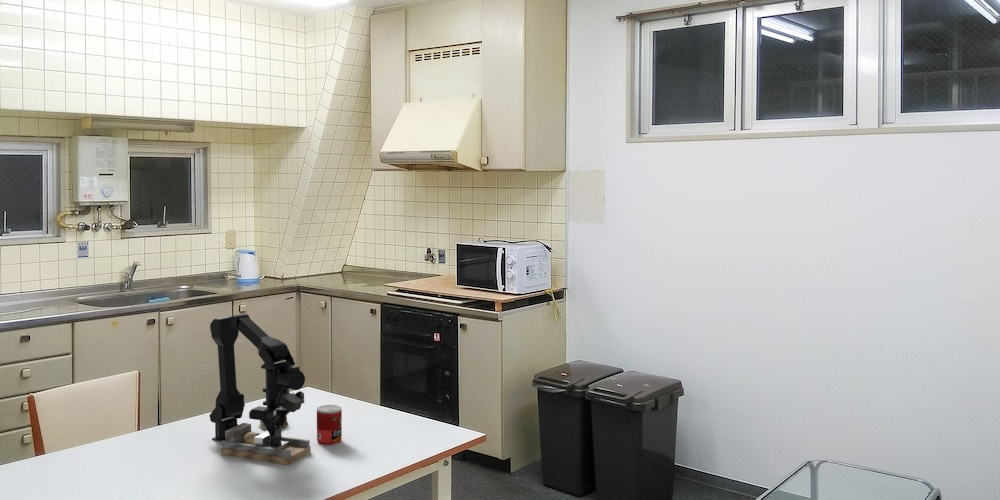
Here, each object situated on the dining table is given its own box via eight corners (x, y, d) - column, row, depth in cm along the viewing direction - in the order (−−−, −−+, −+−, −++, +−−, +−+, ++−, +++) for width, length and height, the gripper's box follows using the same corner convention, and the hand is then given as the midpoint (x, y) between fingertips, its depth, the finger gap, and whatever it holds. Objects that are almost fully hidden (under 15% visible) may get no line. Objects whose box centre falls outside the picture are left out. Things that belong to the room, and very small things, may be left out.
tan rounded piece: (241, 446, 245) (241, 433, 245) (249, 442, 249) (249, 429, 249) (252, 447, 244) (252, 435, 243) (260, 443, 248) (260, 431, 247)
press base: (220, 454, 243) (220, 432, 242) (245, 442, 254) (245, 421, 254) (288, 465, 235) (288, 442, 235) (310, 452, 247) (310, 430, 246)
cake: (294, 427, 272) (294, 412, 272) (268, 435, 265) (268, 419, 264) (277, 419, 279) (277, 404, 278) (252, 426, 271) (252, 411, 270)
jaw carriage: (254, 450, 241) (253, 427, 241) (270, 442, 249) (269, 420, 248) (273, 453, 239) (273, 430, 238) (289, 444, 246) (289, 422, 246)
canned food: (336, 446, 252) (336, 412, 251) (312, 444, 254) (312, 410, 253) (345, 438, 260) (345, 405, 259) (322, 436, 261) (322, 403, 260)
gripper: (280, 395, 230) (280, 447, 232) (315, 379, 248) (315, 428, 249) (247, 391, 234) (248, 442, 235) (284, 376, 251) (284, 424, 253)
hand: (275, 434), depth 243 cm, fingers closed on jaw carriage, 3 cm apart
